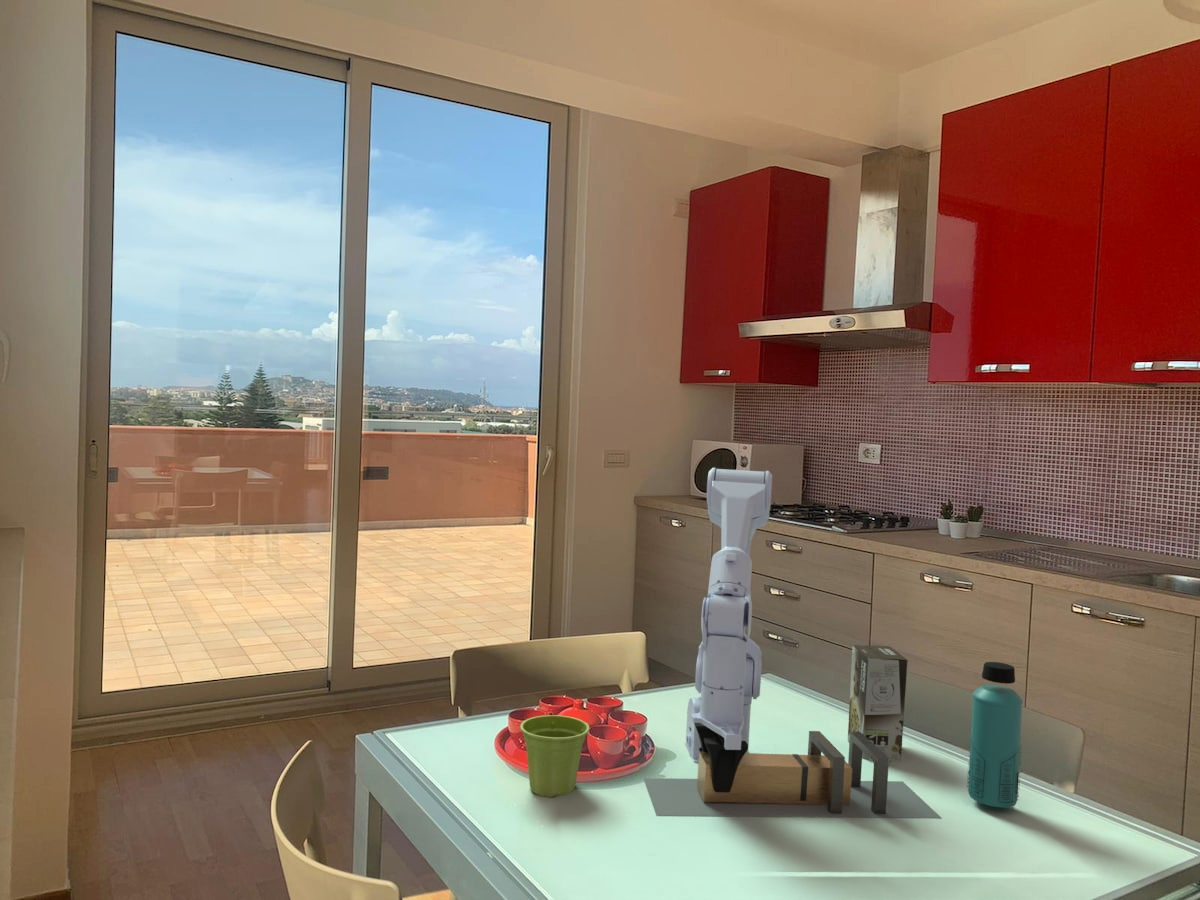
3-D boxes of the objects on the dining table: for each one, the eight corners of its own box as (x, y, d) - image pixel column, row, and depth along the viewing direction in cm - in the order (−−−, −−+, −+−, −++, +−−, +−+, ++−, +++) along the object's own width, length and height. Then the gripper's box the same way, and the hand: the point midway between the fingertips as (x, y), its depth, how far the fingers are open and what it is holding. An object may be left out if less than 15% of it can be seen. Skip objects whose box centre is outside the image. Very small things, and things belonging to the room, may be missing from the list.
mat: (656, 818, 114) (656, 815, 114) (643, 780, 126) (643, 778, 126) (941, 821, 117) (942, 818, 117) (902, 784, 129) (902, 781, 129)
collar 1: (830, 813, 117) (833, 757, 117) (806, 783, 127) (809, 730, 127) (841, 813, 117) (844, 757, 117) (816, 783, 127) (819, 731, 127)
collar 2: (874, 814, 117) (878, 757, 117) (846, 783, 127) (850, 731, 127) (885, 814, 118) (889, 757, 117) (857, 783, 127) (860, 731, 127)
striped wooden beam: (703, 801, 118) (706, 764, 118) (696, 787, 123) (699, 751, 122) (849, 805, 120) (852, 768, 120) (837, 791, 124) (840, 755, 124)
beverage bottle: (1023, 822, 118) (1032, 672, 118) (970, 815, 120) (979, 667, 119) (1010, 802, 125) (1019, 660, 124) (960, 796, 126) (969, 655, 125)
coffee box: (902, 763, 138) (909, 659, 137) (861, 761, 138) (867, 657, 137) (885, 742, 147) (891, 645, 146) (845, 740, 147) (851, 643, 146)
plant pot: (503, 792, 119) (506, 728, 119) (540, 770, 128) (543, 710, 127) (564, 809, 115) (567, 743, 115) (598, 785, 123) (601, 723, 123)
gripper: (683, 668, 127) (678, 762, 127) (704, 700, 112) (699, 806, 113) (732, 669, 128) (727, 763, 128) (759, 701, 113) (753, 806, 114)
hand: (717, 783), depth 120 cm, fingers closed on striped wooden beam, 4 cm apart
